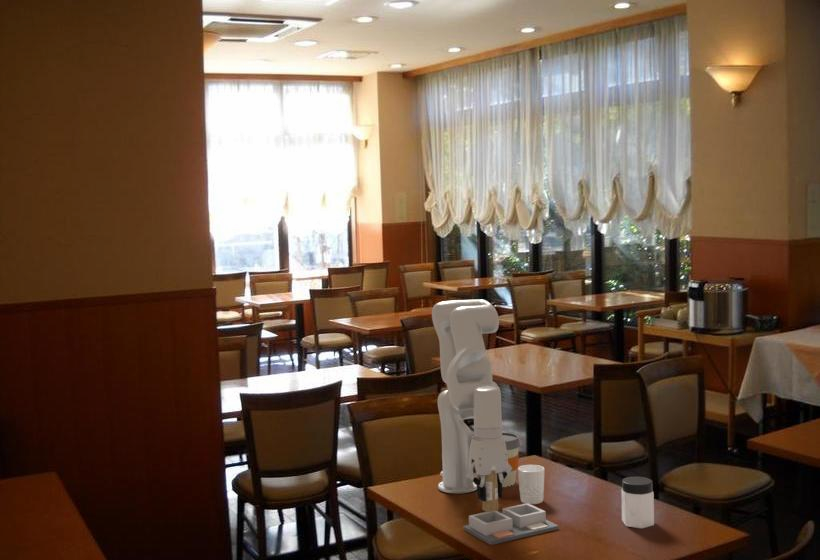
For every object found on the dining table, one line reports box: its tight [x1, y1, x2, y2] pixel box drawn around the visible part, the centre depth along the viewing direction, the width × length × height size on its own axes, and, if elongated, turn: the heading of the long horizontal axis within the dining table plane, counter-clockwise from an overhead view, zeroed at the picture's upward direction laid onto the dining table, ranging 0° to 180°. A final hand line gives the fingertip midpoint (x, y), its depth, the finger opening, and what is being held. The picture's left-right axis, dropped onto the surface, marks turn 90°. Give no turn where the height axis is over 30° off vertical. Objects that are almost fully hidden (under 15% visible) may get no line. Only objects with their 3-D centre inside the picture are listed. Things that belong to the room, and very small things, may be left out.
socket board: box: [462, 503, 559, 546], centre depth 257 cm, size 14×22×4 cm, turn 118°
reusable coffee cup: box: [502, 431, 521, 488], centre depth 299 cm, size 13×13×15 cm
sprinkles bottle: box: [481, 466, 499, 512], centre depth 255 cm, size 5×5×14 cm
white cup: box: [517, 464, 545, 505], centre depth 281 cm, size 8×8×10 cm
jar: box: [620, 476, 655, 529], centre depth 258 cm, size 9×8×12 cm
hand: (489, 497), depth 255 cm, fingers closed on sprinkles bottle, 4 cm apart
